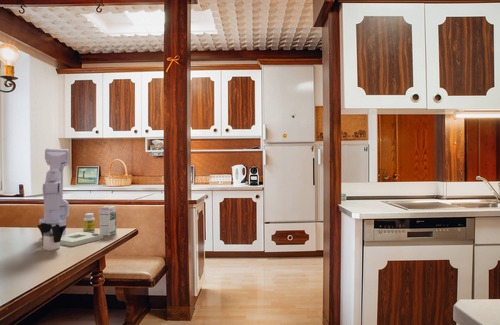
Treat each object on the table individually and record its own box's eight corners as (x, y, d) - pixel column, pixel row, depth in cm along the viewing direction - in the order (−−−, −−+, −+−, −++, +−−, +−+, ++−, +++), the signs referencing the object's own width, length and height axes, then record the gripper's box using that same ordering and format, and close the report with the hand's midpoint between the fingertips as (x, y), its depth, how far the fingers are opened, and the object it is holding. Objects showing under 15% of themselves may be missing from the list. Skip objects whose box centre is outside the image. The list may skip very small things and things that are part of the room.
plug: (43, 249, 135) (43, 232, 135) (53, 246, 139) (53, 230, 139) (49, 250, 133) (49, 233, 133) (60, 247, 137) (60, 231, 137)
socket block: (49, 242, 146) (49, 236, 146) (80, 235, 161) (81, 230, 161) (72, 246, 139) (72, 240, 139) (102, 238, 154) (103, 233, 154)
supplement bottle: (87, 233, 165) (87, 214, 165) (81, 232, 168) (81, 213, 168) (96, 231, 169) (97, 213, 169) (91, 230, 172) (91, 212, 172)
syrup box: (109, 235, 160) (109, 207, 160) (99, 235, 162) (99, 206, 162) (116, 233, 166) (116, 205, 166) (106, 232, 167) (106, 205, 167)
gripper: (32, 209, 136) (31, 241, 136) (53, 212, 129) (53, 245, 129) (48, 207, 142) (48, 237, 142) (69, 210, 136) (69, 241, 136)
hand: (51, 241), depth 136 cm, fingers open, 7 cm apart
